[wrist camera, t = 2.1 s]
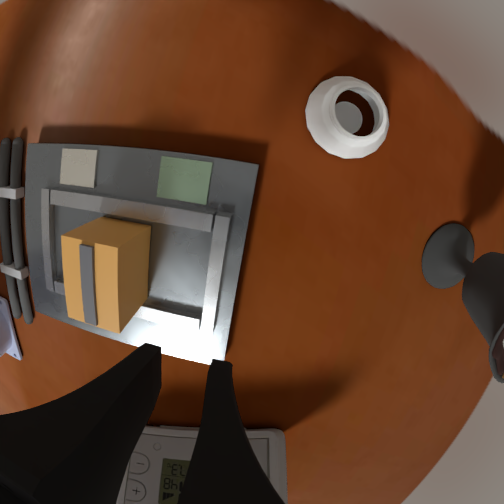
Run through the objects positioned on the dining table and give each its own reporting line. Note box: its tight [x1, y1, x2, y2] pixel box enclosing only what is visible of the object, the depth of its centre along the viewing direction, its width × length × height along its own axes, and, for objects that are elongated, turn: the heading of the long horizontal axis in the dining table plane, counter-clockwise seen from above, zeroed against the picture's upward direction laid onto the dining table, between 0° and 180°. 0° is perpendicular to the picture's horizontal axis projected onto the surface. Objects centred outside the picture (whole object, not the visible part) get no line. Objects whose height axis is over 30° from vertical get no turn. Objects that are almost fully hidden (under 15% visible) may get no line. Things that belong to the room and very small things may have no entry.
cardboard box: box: [61, 217, 151, 334], centre depth 16 cm, size 4×5×5 cm
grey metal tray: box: [25, 143, 259, 365], centre depth 18 cm, size 17×14×2 cm
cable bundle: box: [0, 137, 33, 324], centre depth 19 cm, size 3×17×1 cm, turn 170°
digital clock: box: [117, 425, 288, 504], centre depth 21 cm, size 16×9×11 cm, turn 87°
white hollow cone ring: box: [305, 76, 389, 159], centre depth 15 cm, size 5×3×5 cm
